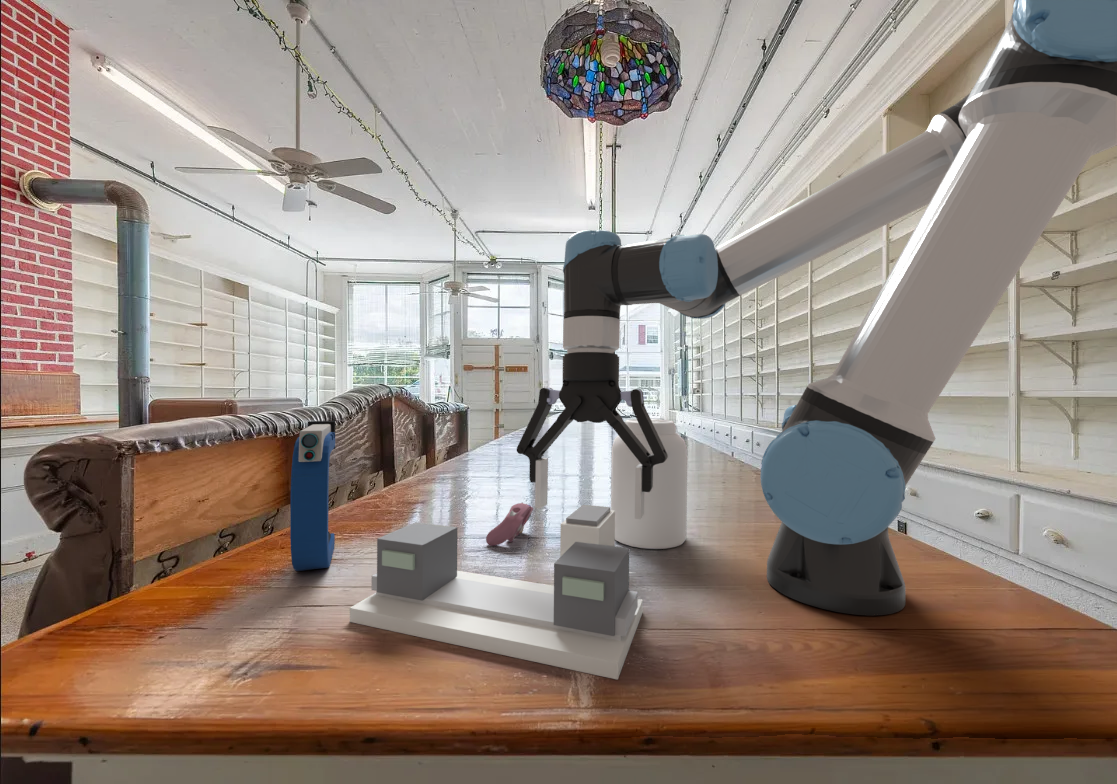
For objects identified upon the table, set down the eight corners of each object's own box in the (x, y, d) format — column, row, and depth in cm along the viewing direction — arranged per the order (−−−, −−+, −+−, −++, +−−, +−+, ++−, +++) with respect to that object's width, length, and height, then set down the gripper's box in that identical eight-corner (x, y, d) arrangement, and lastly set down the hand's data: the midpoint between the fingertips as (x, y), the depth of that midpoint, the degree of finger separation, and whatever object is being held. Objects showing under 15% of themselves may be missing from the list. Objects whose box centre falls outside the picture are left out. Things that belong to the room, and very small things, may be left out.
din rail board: (642, 612, 53) (643, 540, 53) (617, 679, 41) (618, 586, 41) (422, 576, 63) (423, 515, 63) (349, 621, 51) (350, 545, 51)
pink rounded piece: (506, 558, 74) (526, 519, 74) (482, 543, 75) (501, 505, 74) (523, 538, 84) (541, 504, 83) (501, 525, 85) (518, 491, 84)
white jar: (608, 526, 86) (609, 416, 86) (677, 528, 86) (679, 417, 86) (613, 550, 74) (614, 421, 74) (694, 552, 73) (696, 422, 73)
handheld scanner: (338, 542, 76) (336, 420, 76) (329, 580, 61) (327, 428, 61) (306, 545, 75) (304, 421, 74) (289, 586, 60) (286, 429, 59)
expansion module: (614, 567, 67) (615, 506, 67) (598, 592, 59) (599, 523, 59) (580, 562, 69) (580, 503, 69) (560, 586, 60) (560, 519, 60)
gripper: (689, 353, 63) (687, 513, 63) (517, 355, 71) (515, 496, 71) (685, 348, 56) (682, 529, 56) (494, 351, 64) (492, 508, 64)
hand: (588, 511), depth 64 cm, fingers open, 13 cm apart
